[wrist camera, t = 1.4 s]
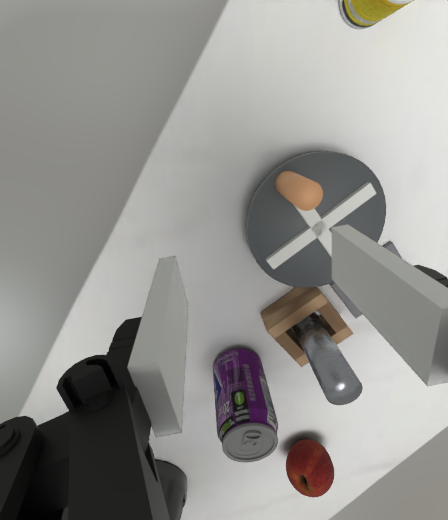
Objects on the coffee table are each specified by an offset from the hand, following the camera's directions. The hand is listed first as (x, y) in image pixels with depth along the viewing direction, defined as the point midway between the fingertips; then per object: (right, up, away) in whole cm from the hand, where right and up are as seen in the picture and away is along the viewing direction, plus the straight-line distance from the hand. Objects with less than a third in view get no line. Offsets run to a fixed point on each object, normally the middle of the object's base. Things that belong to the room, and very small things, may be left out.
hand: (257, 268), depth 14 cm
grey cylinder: (+9, -7, +26) cm, 29 cm away
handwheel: (+8, +5, +19) cm, 21 cm away
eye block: (+9, -7, +26) cm, 29 cm away
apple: (+13, -32, +38) cm, 52 cm away
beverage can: (0, -15, +29) cm, 33 cm away
